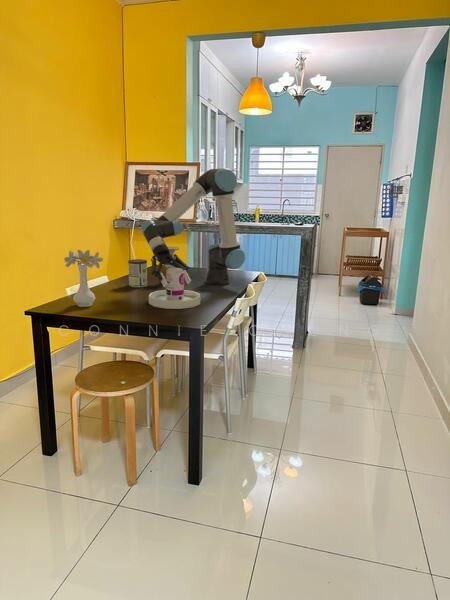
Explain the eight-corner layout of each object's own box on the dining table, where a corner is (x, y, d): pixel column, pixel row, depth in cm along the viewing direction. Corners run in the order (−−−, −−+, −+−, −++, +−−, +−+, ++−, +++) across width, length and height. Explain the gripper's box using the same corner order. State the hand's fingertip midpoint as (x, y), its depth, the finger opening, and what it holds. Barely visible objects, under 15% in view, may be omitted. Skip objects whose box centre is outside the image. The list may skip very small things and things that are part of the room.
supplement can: (186, 299, 198) (186, 268, 194) (179, 302, 190) (179, 270, 186) (171, 297, 200) (171, 266, 197) (163, 300, 192) (163, 269, 189)
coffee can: (132, 283, 235) (131, 258, 232) (149, 284, 234) (149, 259, 231) (126, 286, 225) (125, 261, 222) (144, 287, 224) (144, 262, 221)
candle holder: (167, 278, 251) (167, 245, 246) (184, 281, 246) (184, 247, 242) (155, 282, 240) (155, 247, 236) (173, 284, 235) (173, 249, 231)
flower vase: (108, 301, 192) (106, 248, 187) (86, 311, 175) (83, 253, 169) (83, 299, 195) (80, 246, 189) (59, 308, 178) (55, 251, 172)
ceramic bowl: (200, 296, 208) (200, 290, 207) (200, 309, 184) (200, 301, 183) (152, 295, 206) (152, 289, 205) (146, 308, 183) (146, 300, 182)
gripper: (176, 251, 209) (195, 285, 202) (133, 255, 193) (152, 291, 186) (183, 242, 204) (202, 276, 197) (139, 244, 188) (158, 282, 181)
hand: (177, 284), depth 191 cm, fingers open, 13 cm apart
